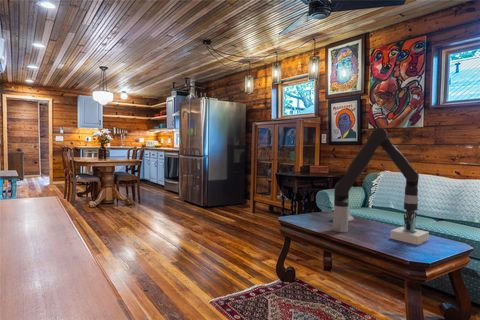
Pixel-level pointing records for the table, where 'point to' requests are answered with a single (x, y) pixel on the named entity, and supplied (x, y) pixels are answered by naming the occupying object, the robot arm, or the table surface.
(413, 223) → the bracket
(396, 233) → the block
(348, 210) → the hinge
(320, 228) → the table surface
